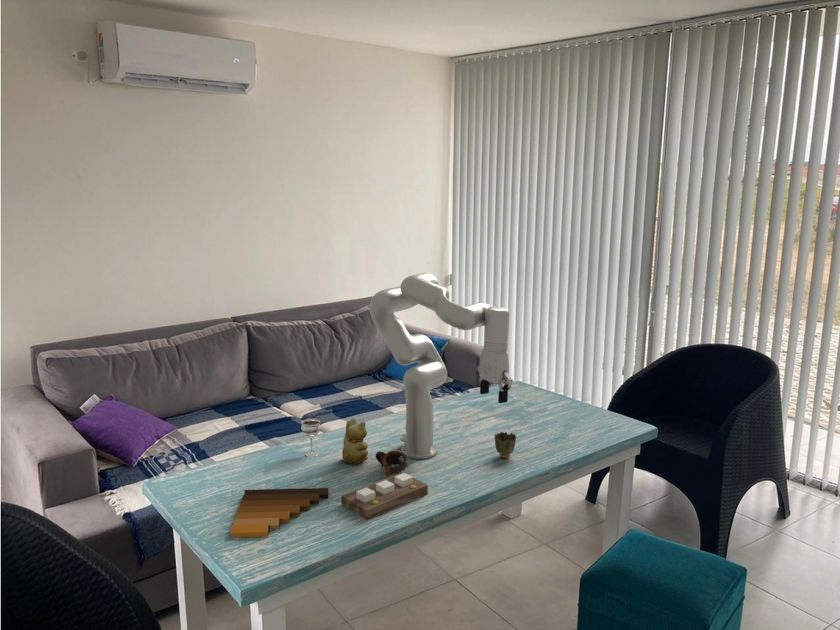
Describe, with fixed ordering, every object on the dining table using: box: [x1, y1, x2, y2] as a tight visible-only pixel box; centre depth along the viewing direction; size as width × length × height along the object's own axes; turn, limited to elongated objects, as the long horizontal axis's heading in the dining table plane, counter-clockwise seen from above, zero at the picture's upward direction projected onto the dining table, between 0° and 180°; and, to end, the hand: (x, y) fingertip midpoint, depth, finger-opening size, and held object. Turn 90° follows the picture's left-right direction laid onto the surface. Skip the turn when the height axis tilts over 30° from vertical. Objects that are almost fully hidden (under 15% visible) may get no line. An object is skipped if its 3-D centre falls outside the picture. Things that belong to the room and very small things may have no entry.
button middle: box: [376, 480, 395, 495], centre depth 212 cm, size 4×4×2 cm
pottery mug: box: [375, 449, 409, 478], centre depth 231 cm, size 12×9×8 cm
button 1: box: [356, 487, 375, 503], centre depth 207 cm, size 4×4×2 cm
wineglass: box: [300, 417, 322, 458], centre depth 244 cm, size 7×7×12 cm
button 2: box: [395, 472, 414, 487], centre depth 217 cm, size 4×4×2 cm
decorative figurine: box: [341, 417, 369, 465], centre depth 238 cm, size 10×8×15 cm
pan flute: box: [230, 487, 330, 538], centre depth 203 cm, size 25×3×25 cm
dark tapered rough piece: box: [494, 431, 517, 460], centre depth 243 cm, size 8×7×8 cm
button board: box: [340, 471, 429, 521], centre depth 212 cm, size 12×24×3 cm, turn 133°
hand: (493, 397), depth 225 cm, fingers open, 9 cm apart
